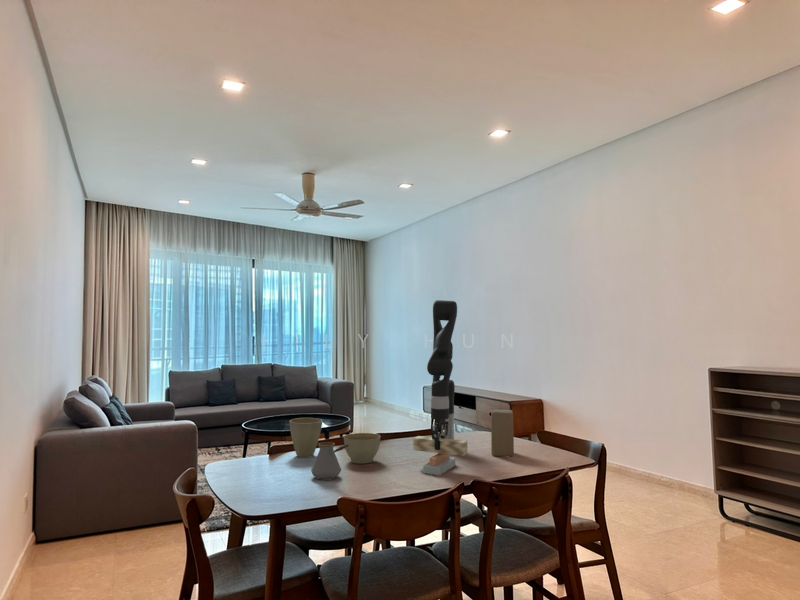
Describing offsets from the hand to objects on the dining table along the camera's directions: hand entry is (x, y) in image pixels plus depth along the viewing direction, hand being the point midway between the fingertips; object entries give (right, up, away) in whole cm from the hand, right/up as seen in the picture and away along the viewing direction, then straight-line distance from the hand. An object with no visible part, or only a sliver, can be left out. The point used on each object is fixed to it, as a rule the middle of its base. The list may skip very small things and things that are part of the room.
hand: (439, 448), depth 209 cm
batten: (0, -1, 0) cm, 1 cm away
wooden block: (+31, -11, +26) cm, 42 cm away
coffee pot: (-42, -7, -18) cm, 46 cm away
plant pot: (-60, -10, +21) cm, 64 cm away
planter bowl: (-33, -9, +11) cm, 36 cm away
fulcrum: (0, -8, -1) cm, 8 cm away
